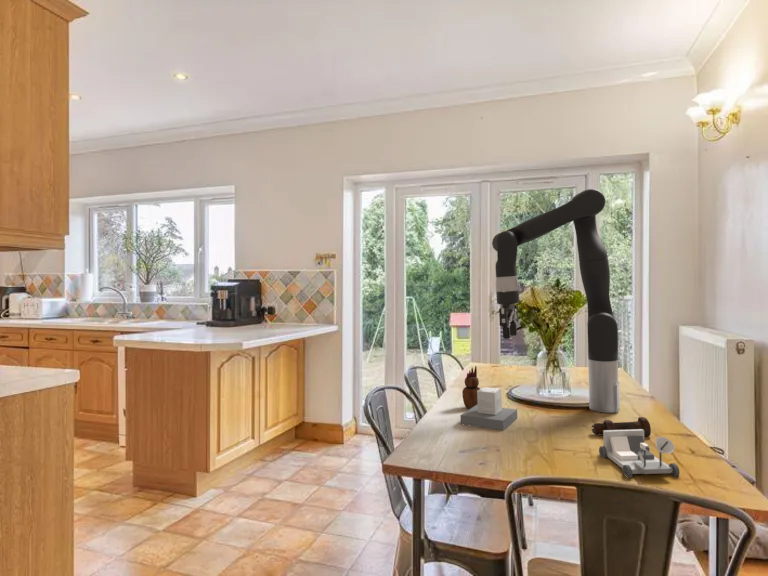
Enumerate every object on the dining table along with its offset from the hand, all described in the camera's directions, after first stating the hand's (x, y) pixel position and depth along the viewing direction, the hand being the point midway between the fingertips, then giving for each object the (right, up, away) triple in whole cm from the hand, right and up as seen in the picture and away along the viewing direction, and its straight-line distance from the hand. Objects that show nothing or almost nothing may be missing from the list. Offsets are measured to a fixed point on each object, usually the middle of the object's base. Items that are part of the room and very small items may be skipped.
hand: (510, 337), depth 167 cm
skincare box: (-9, -24, -10) cm, 27 cm away
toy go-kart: (+18, -27, -50) cm, 60 cm away
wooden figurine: (-12, -26, +7) cm, 30 cm away
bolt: (+25, -26, -27) cm, 45 cm away
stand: (-9, -26, -10) cm, 30 cm away
